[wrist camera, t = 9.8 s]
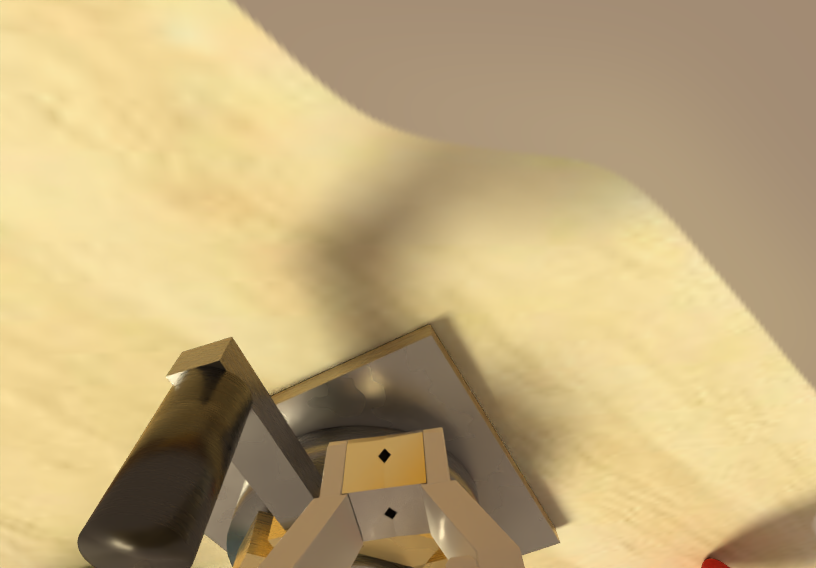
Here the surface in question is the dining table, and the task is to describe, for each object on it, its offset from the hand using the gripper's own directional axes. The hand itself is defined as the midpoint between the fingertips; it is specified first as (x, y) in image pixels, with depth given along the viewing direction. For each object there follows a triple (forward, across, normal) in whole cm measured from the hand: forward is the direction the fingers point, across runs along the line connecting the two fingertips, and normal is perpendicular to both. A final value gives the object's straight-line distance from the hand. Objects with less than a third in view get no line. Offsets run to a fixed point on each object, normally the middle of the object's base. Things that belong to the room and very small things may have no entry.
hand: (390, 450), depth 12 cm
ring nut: (+4, +4, +7) cm, 9 cm away
